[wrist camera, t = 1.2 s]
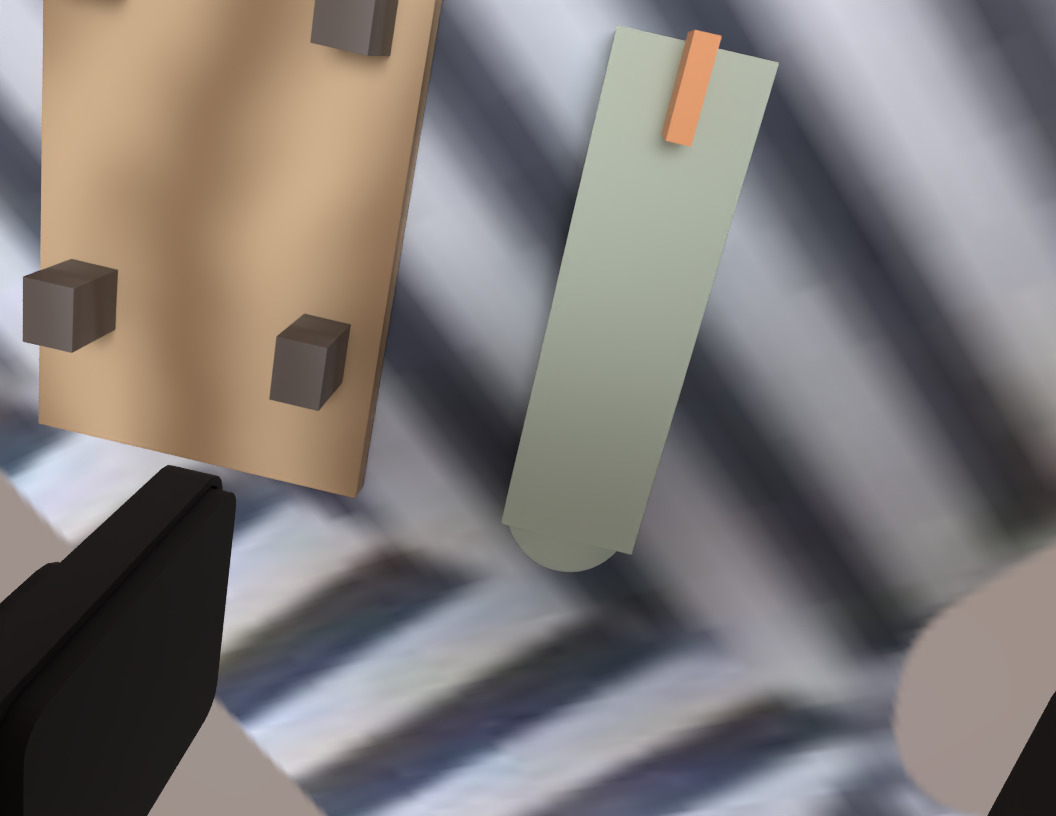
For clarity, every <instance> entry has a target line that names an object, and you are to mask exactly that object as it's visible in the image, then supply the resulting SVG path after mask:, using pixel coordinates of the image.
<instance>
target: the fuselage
mask: <svg viewBox="0 0 1056 816" xmlns="http://www.w3.org/2000/svg"><path fill="white" fill-rule="evenodd" d="M720 40H721V36H719V35H715V34H711V33H706V32H702V31H698V30H693V31H690V32H688V35H687V38H686V41H683V40H679V39H675V38H670V37H666V36H662V35H657V34H653V33H649V32H644V31H640V30H636V29H632V28H627V27H623V26H619V25H617V27H616V32H615V36H614V40H613V44H612V49H611V53H610V57H609V62H608V66H607V70H606V75H605V79H604V83H603V87H602V92H601V96H600V100H599V105H598V109H597V113H596V117H595V122H594V126H593V130H592V135H591V139H590V143H589V148H588V152H587V156H586V160H585V165H584V169H583V173H582V178H581V182H580V186H579V190H578V195H577V199H576V203H575V208H574V212H573V216H572V221H571V225H570V229H569V233H568V238H567V242H566V246H565V251H564V255H563V259H562V263H561V268H560V272H559V276H558V281H557V285H556V289H555V294H554V298H553V302H552V306H551V311H550V315H549V319H548V324H547V328H546V332H545V336H544V341H543V345H542V349H541V354H540V358H539V362H538V367H537V371H536V375H535V379H534V384H533V388H532V392H531V397H530V401H529V405H528V409H527V414H526V418H525V422H524V427H523V431H522V435H521V440H520V444H519V448H518V452H517V457H516V461H515V465H514V470H513V474H512V478H511V482H510V487H509V491H508V495H507V500H506V504H505V508H504V513H503V517H502V521H501V524H504V525H508V526H509V527H510V530H511V533H512V535H513V537H514V539H515V541H516V542H517V544H518V546H519V547H520V548H521V549H522V551H523V552H524V553H525V554H526V555H528V556H529V557H530V558H531V559H532V560H534V561H535V562H537V563H538V564H540V565H542V566H544V567H546V568H549V569H552V570H556V571H562V572H578V571H584V570H587V569H591V568H593V567H595V566H598V565H599V564H601V563H603V562H605V561H606V560H607V559H609V558H610V557H611V556H612V555H613V554H614V553H615V552H616V551H618V552H622V553H626V554H631V555H632V552H633V548H634V545H635V542H636V538H637V535H638V532H639V528H640V525H641V522H642V518H643V515H644V512H645V508H646V505H647V502H648V498H649V495H650V492H651V488H652V485H653V482H654V478H655V475H656V472H657V468H658V465H659V462H660V458H661V455H662V452H663V448H664V445H665V442H666V438H667V435H668V432H669V428H670V425H671V422H672V418H673V415H674V412H675V408H676V405H677V402H678V398H679V395H680V392H681V388H682V385H683V382H684V378H685V375H686V372H687V368H688V365H689V362H690V358H691V355H692V352H693V348H694V345H695V341H696V338H697V335H698V331H699V328H700V325H701V321H702V318H703V315H704V311H705V308H706V305H707V301H708V298H709V295H710V291H711V288H712V285H713V281H714V278H715V275H716V271H717V268H718V265H719V261H720V258H721V255H722V251H723V248H724V245H725V241H726V238H727V235H728V231H729V228H730V225H731V221H732V218H733V215H734V211H735V208H736V205H737V201H738V198H739V195H740V191H741V188H742V185H743V181H744V178H745V175H746V171H747V168H748V165H749V161H750V158H751V155H752V151H753V148H754V145H755V141H756V138H757V135H758V131H759V128H760V125H761V121H762V118H763V115H764V111H765V108H766V104H767V101H768V98H769V94H770V91H771V88H772V84H773V81H774V78H775V74H776V71H777V68H778V64H779V63H778V62H773V61H769V60H765V59H760V58H756V57H752V56H748V55H743V54H739V53H735V52H730V51H726V50H722V49H718V47H719V44H720Z"/></svg>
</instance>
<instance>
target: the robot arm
mask: <svg viewBox="0 0 1056 816" xmlns="http://www.w3.org/2000/svg"><path fill="white" fill-rule="evenodd" d="M222 488H223V487H222V481H221V479H220V477H219V476H215V475H211V474H207V473H202V472H198V471H194V470H189V469H185V468H181V467H176V466H172V465H167V466H165V467H164V468H162V469H161V470H160V471H159V472H158V473H157V474H156V475H154V476H153V477H152V478H151V479H150V480H149V481H148V482H147V483H146V484H145V485H144V486H143V487H141V488H140V489H139V490H138V491H137V492H136V493H135V494H134V495H133V496H132V497H131V498H130V499H128V500H127V501H126V502H125V503H124V504H123V505H122V506H121V507H120V508H119V509H118V510H117V511H115V512H114V513H113V514H112V515H111V516H110V517H109V518H108V519H107V520H106V521H105V522H104V523H102V524H101V525H100V526H99V527H98V528H97V529H96V530H95V531H94V532H93V533H92V534H91V535H89V536H88V537H87V538H86V539H85V540H84V541H83V542H82V543H81V544H80V545H79V546H78V547H77V548H75V549H74V550H73V551H72V552H71V553H70V554H69V555H68V556H67V557H66V558H65V559H64V560H62V561H61V562H60V563H59V562H54V563H48V564H46V565H45V566H43V567H41V568H40V569H38V570H37V571H36V572H35V573H33V574H32V575H31V576H30V577H29V578H28V579H27V580H26V581H24V582H23V584H21V585H20V586H19V587H18V588H17V589H16V590H14V591H13V592H12V593H11V594H10V595H9V596H8V597H7V598H6V599H5V600H3V601H2V602H1V603H0V816H147V815H148V813H149V811H150V810H151V808H152V807H153V805H154V803H155V802H156V800H157V798H158V797H159V795H160V794H161V792H162V790H163V788H164V787H165V785H166V784H167V782H168V780H169V779H170V777H171V775H172V774H173V772H174V770H175V769H176V767H177V766H178V764H179V762H180V761H181V759H182V757H183V756H184V754H185V752H186V751H187V749H188V747H189V746H190V744H191V742H192V741H193V739H194V737H195V736H196V734H197V733H198V731H199V729H200V728H201V726H202V724H203V723H204V721H205V719H206V717H207V715H208V713H209V711H210V708H211V706H212V703H213V700H214V696H215V692H216V687H217V680H218V671H219V661H220V652H221V642H222V633H223V623H224V614H225V605H226V595H227V586H228V576H229V567H230V557H231V548H232V539H233V529H234V520H235V510H236V497H235V495H234V493H231V492H227V491H222ZM988 816H1056V692H1055V693H1054V694H1053V696H1052V697H1051V699H1050V701H1049V703H1048V705H1047V707H1046V708H1045V710H1044V712H1043V714H1042V716H1041V718H1040V719H1039V721H1038V723H1037V725H1036V727H1035V729H1034V731H1033V733H1032V734H1031V736H1030V738H1029V740H1028V742H1027V743H1026V745H1025V747H1024V749H1023V751H1022V753H1021V755H1020V757H1019V758H1018V760H1017V762H1016V764H1015V766H1014V767H1013V769H1012V771H1011V773H1010V775H1009V777H1008V779H1007V781H1006V782H1005V784H1004V786H1003V788H1002V790H1001V792H1000V793H999V795H998V797H997V799H996V801H995V803H994V805H993V807H992V808H991V810H990V812H989V814H988Z"/></svg>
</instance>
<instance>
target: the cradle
mask: <svg viewBox="0 0 1056 816" xmlns="http://www.w3.org/2000/svg"><path fill="white" fill-rule="evenodd" d="M441 5H442V0H43V86H42V177H41V268H40V271H37V272H34V273H32V274H29V275H26V276H24V277H23V342H27V343H31V344H36V345H40V358H39V424H44V425H48V426H52V427H56V428H60V429H65V430H69V431H73V432H77V433H82V434H86V435H90V436H94V437H99V438H103V439H107V440H111V441H115V442H120V443H124V444H128V445H132V446H137V447H141V448H145V449H149V450H153V451H158V452H162V453H166V454H170V455H175V456H179V457H183V458H187V459H192V460H196V461H200V462H204V463H208V464H213V465H217V466H221V467H225V468H230V469H234V470H238V471H242V472H247V473H251V474H255V475H259V476H263V477H268V478H272V479H276V480H280V481H285V482H289V483H293V484H297V485H302V486H306V487H310V488H314V489H318V490H323V491H327V492H331V493H335V494H340V495H344V496H348V497H352V498H356V496H357V494H358V493H359V491H360V489H361V487H362V486H363V481H364V475H365V469H366V463H367V457H368V451H369V445H370V439H371V433H372V426H373V420H374V414H375V408H376V402H377V396H378V390H379V384H380V378H381V371H382V365H383V359H384V353H385V347H386V341H387V335H388V329H389V323H390V316H391V310H392V304H393V298H394V292H395V286H396V280H397V274H398V268H399V262H400V255H401V249H402V243H403V237H404V231H405V225H406V219H407V213H408V207H409V200H410V194H411V188H412V182H413V176H414V170H415V164H416V158H417V152H418V145H419V139H420V133H421V127H422V121H423V115H424V109H425V103H426V97H427V91H428V84H429V78H430V72H431V66H432V60H433V54H434V48H435V42H436V36H437V29H438V23H439V17H440V11H441Z"/></svg>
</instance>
